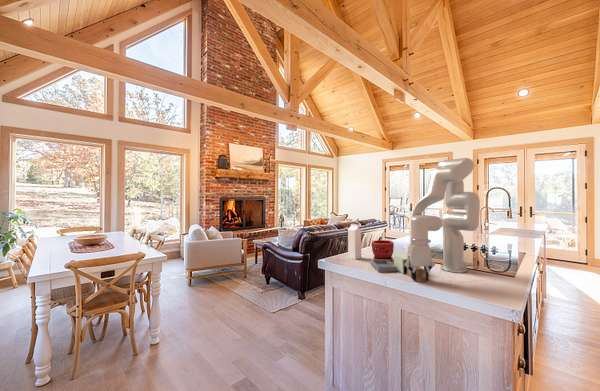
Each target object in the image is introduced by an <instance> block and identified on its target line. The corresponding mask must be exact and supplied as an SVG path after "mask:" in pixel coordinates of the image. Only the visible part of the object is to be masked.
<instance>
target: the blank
mask: <svg viewBox="0 0 600 391" xmlns="http://www.w3.org/2000/svg"><path fill="white" fill-rule="evenodd" d="M409 266H410V267H411V265H409ZM415 272H416V281H415V282H427V281H426V270H424V268H422V266H416V270H415ZM406 274H407V276H408V277H409V278H411V271H410V270H409V269H408V268H407V267H406Z"/></svg>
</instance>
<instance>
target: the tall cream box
mask: <svg viewBox="0 0 600 391" xmlns="http://www.w3.org/2000/svg"><path fill="white" fill-rule="evenodd" d="M407 257H408V252H405V253H393V264H394V265H395V266H397V272H399V273H401V274H402V275H404V274H405V268H407V267H406V266H405V265H404V264H405V262H406V261H407ZM409 265H411V264H409Z"/></svg>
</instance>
